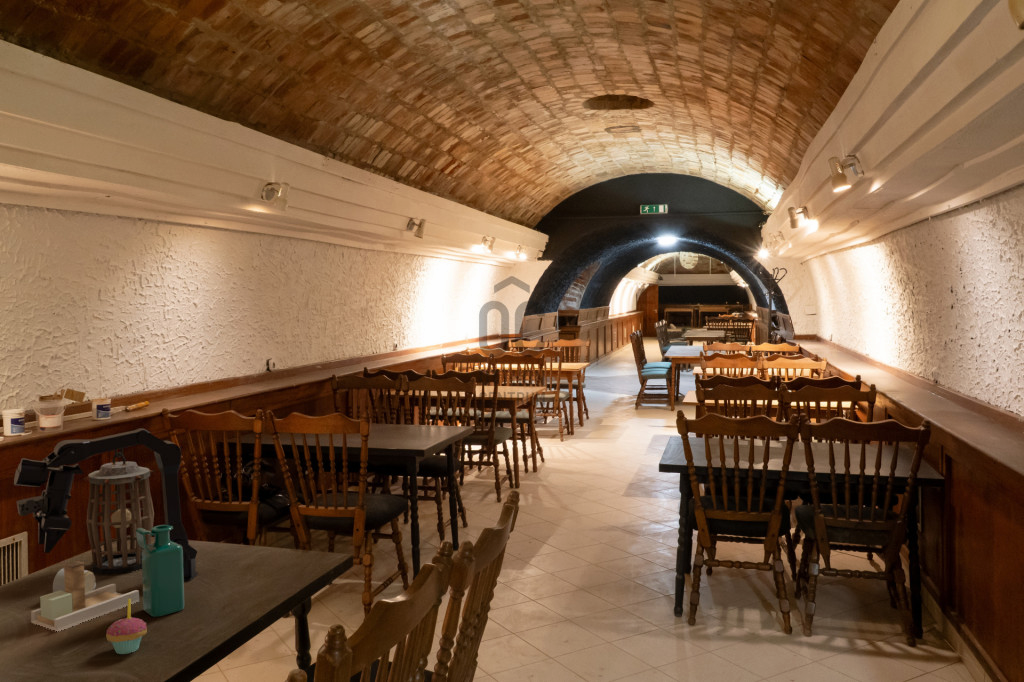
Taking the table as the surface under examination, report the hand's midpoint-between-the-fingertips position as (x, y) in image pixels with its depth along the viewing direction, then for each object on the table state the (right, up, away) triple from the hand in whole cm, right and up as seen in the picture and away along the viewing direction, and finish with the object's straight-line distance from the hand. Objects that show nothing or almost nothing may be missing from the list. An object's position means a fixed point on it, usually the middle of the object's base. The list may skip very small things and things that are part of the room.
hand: (43, 548), depth 210 cm
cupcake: (+34, -17, -25) cm, 45 cm away
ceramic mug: (+4, -15, +9) cm, 18 cm away
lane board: (+13, -16, -3) cm, 20 cm away
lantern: (+4, -14, +33) cm, 36 cm away
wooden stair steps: (+12, -15, -4) cm, 19 cm away
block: (+9, -14, -10) cm, 19 cm away
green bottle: (+31, -16, -2) cm, 35 cm away
